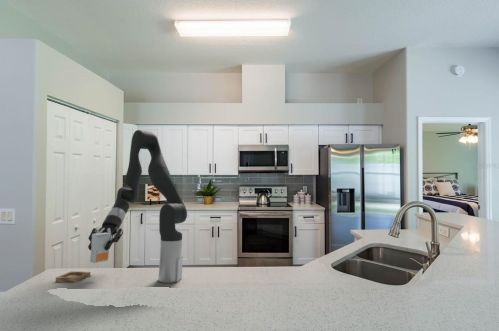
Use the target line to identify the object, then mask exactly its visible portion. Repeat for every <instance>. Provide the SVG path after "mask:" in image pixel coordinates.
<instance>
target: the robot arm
mask: <svg viewBox="0 0 499 331" xmlns="http://www.w3.org/2000/svg"><path fill="white" fill-rule="evenodd" d="M130 142H131V143H130V149H129V150H130V151H129V160H128V168H127V171H126V174H125V178H124V184H125V185H126V186H127V187H126V186H122V187H120V188H119V189H118V190H117V192H116V198H115V203H114V205H113V206H112V207H111V210H110V211H108V212H107V215H106V217H105V218H104V220H103V222H102V224H101V227H99V229H98V228H95V227H93V228H92V230H91V232H90V234H89V236H88V239H87V240H89V244H88V246H87V248H88V249H89V251H91V243H92V234H97V233H110V238H109V241H108V242H107V244H106V245H105V250H106V251H108V249H109V250H110V249H111V246H112V245H113V244H115V243H118V242H119V241H120V239H121V237H122V236H123V235H124V230H123V229H122V228H120V227H121V225H122V224H123V222H124V220H125V217H126V214H127V213H128V211H129V209H130V204H129V203H131V204H135V203H136V202H137V201H138V200H139V196H140V193H139V192H140V191H139V186H140V180H141V178H142V177H141V176H142V173H143V168H142V164H141V161H140V155H139V154H140V152H141V150H142V149H143V150H148V152H149V155H150V161H149V164H148V167H147V174H148V176H149V179H150V181H151V184H152V186H153V187H154V188H155V189H156V190H157V191H158V192H159V193H160V194H161V195H162V196H163V197H164V198H165V199H166V202H167V203H165V204H163V205H162V206H161V208H160V210H159V216H158V217H159V224H158V226H159V227H158V228H159V230H158V231H159V235H160V246H159V248H160V249H159V263H158V264H159V265H158V282H160V283H164V284H165V283H167V284H168V283H169V284H170V283H178V282H179V281H180V280H181V279H182V277H183V258H184V257H183V255H182V247H183V233H182V232H181V231H178V229H176V225H178V224H182V223H184V222H186V220H187V219H188V218H187V216H188V211H187V208H186V205H185V204H184V202H183V199H182V198H181V196H180V194H179V192H178V191H177V188H176V185H175V183H174V181H173V179H172V178H173V177H172V176H171V174H170V170H169V167H168V165H167V164H166V161H165V159H164V156H163V153H162V150H161V146H160V142H159V140H158V136H157V134H156V133H154V132H153V131H148V130H142V129H137V130H135V131H134V132H133V134H132V137H131V141H130Z"/></svg>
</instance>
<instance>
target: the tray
mask: <svg viewBox="0 0 499 331" xmlns="http://www.w3.org/2000/svg"><path fill="white" fill-rule="evenodd" d="M91 273H92V272H91V271H76V270H75V271H69V272H67V273H64V274H61V275H58V276H56V277H55V283H70V284H76V283H77V284H78V283H79V282H81V281H83V280H85V279H87V278H89V277H91Z"/></svg>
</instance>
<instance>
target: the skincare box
mask: <svg viewBox="0 0 499 331" xmlns="http://www.w3.org/2000/svg"><path fill="white" fill-rule="evenodd" d="M109 238H110V233H97V234H92V243H91V250H90V257H89V258H90V259H89V261H90V263H92V264H96V263H102V262H108V261H109V255H110V254H109V253H110V252H109V251H110V249H108V251H106V250H105V245H106V244H107V242H108V241H109Z"/></svg>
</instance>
